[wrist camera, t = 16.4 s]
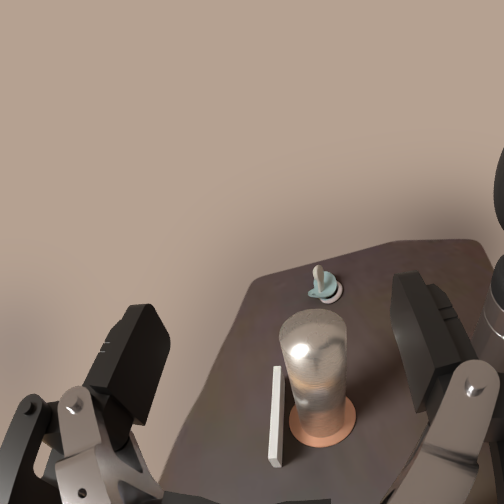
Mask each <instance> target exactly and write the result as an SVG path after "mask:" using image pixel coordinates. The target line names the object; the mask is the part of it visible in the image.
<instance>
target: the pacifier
mask: <svg viewBox="0 0 504 504" xmlns="http://www.w3.org/2000/svg"><path fill="white" fill-rule="evenodd" d="M313 276H314V278H315V279H314V287H315V288H314V289H312V290H310V291H309V292H308V295H309V296H310V297H315V298H319V299H320V300H321V301H322V302H323V303H326V304H330V303H333V302H335V301H336V300H338V299H339V297H340V296H341V294H342V285H341V284H340V283H339V282H338V281H336V279H335V277H334V276H333V275H332V274H331V273H329V272H324V271H323V268H322V266H321V265H317V266H316V267H315V268H314V270H313ZM336 286H337V288H338V292H337V294H336V295H335V296H334V297H332V298H330V299H325V298H326V297H329V296H331V295H332V294H333V293H334V292H335V290H336Z"/></svg>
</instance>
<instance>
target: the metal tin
mask: <svg viewBox="0 0 504 504" xmlns="http://www.w3.org/2000/svg"><path fill="white" fill-rule="evenodd" d="M279 340H280V344H281V348H282V352H283V356H284V360H285V364H286V368H287V372H288V376H289V380H290V384H291V388H292V392H293V396H294V400H295V404H296V408H297V412H298V416H299V420H300V424H301V427H302V429H303V430H304V431H305V432H306V433H307V434H308V435H310V436H313V437H316V438H325V437H329V436H332V435H333V434H335V433H337V432H338V431H339V430H340V429H341V427H342V426H343V424H344V420H345V404H346V361H347V343H346V325H345V323H344V321H343V319H342V318H341V317H340V316H339V315H337V314H336V313H334V312H332V311H329V310H325V309H308V310H304V311H301V312H298V313H296V314H294V315H293V316H291V317H290V318H289V319H287V320H286V321H285V323H284V324H283V325H282V327H281V329H280V333H279Z"/></svg>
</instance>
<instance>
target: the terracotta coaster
mask: <svg viewBox="0 0 504 504" xmlns="http://www.w3.org/2000/svg"><path fill="white" fill-rule="evenodd" d="M355 419H356V413H355V408H354V406H353V404H352V402H351V401H350V400H349V399H348V398H347V397H346V404H345V420H344V424H343V426H342V427H341V429H340V430H339V431H338V432H337V433H335V434H333V435H332V436H329V437H325V438H316V437H313V436H310V435H308V434H307V433H306V432H305V431H304V430H303V429H302V427H301V424H300V420H299V416H298V412H297V408H296V404H295V405H294V406H293V408H292V410H291V412H290V415H289V426H290V429H291V432H292V434H293V435H294V437H295V438H296V439H297V440H298V441H300V442H301V443H303V444H305V445H307V446H311V447H317V448H322V447H328V446H332V445H335V444H337V443H339V442H341V441H342V440H343V439H345V438H346V437H347V436H348V435H349V434H350V432H351V431H352V429H353V427H354V424H355Z"/></svg>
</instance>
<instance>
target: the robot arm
mask: <svg viewBox="0 0 504 504" xmlns="http://www.w3.org/2000/svg"><path fill="white" fill-rule="evenodd" d="M494 207H495V212H496V215H497V218H498V221H499V223H500V225H501V227H502V229H503V230H504V149H503V151H502V153H501V156H500V159H499V162H498V165H497V170H496V175H495V181H494ZM390 317H391V324H392V329H393V332H394V335H395V338H396V342H397V345H398V348H399V352H400V355H401V358H402V362H403V365H404V369H405V373H406V376H407V380H408V384H409V388H410V392H411V396H412V400H413V404H414V408H415V412H416V413H420V412H424V411H427V415H428V419H429V421H428V423H427V425H426V427H425V429H424V431H423V433H422V435H421V437H420V439H419V441H418V442H417V444H416V446H415V448H414V450H413V452H412V453H411V455H410V457H409V459H408V461H407V462H406V464H405V466H404V467H403V469H402V471H401V472H400V474H399V475H398V477H397V478H396V480H395V481H394V483H393V484H392V486H391V487H390V488H389V490H388V491H387V493H386V494H385V496H384V497H383V499H382V500H381V501H380V503H379V504H464V502H465V500H466V498H467V496H468V494H469V492H470V490H471V488H472V486H473V483H474V481H475V479H476V476H477V473H478V469H479V465H478V463H477V457H478V454H479V452H480V449H481V447H482V444H483V442H489V446H490V451H491V456H492V462H493V468H494V475H495V483H496V491H497V501H498V504H504V255H503V256H501V257H500V259H499V260H498V262H497V264H496V266H495V269H494V272H493V276H492V280H491V283H490V287H489V290H488V293H487V297H486V300H485V303H484V306H483V309H482V312H481V315H480V318H479V321H478V323H477V326H476V329H475V331H474V334H473V336H472V339H471V341H470V339H469V337H468V335H467V333H466V331H465V329H464V327H463V325H462V323H461V321H460V319H458V315H457V313H456V311H455V310H454V308H452V304H451V302H450V300H449V298H448V297H447V295H446V293H445V292H443V291H442V290H441V289H440V288H439V287H437V286H436V285H435V284H430V285H426V284H425V283H424V281H423V279H422V277H421V275H420V273H419V272H418V271H417V270H415V271H409V272H403V273H397V274H394V276H393V285H392V297H391V308H390ZM169 351H170V337H169V334H168V332H167V330H166V329H165V327H164V325H163V323H162V321H161V319H160V318H159V316H158V314H157V312H156V310H155V308H154V307H153V306H152V305H151V304H139V305H130V306H129V307H128V309H127V310H126V313H125V314H124V316H123V318H122V320H120V321H119V322H118V323H117V324H116V325H115V326H114V327H113V328H112V329H111V330H110V332H109V334H108V336H107V338H106V339H105V343H103V345H102V347H101V349H100V353H98V355H97V357H96V359H95V361H94V363H93V365H92V367H91V369H90V371H89V373H88V375H87V377H86V379H85V381H84V383H83V385H82V386H76V387H73V388H71V389H69V390H68V391H66V392H65V393H64V395H63V396H62V397H61V399H60V401H56V402H49V403H46V402H45V401H44V400H43V399H42V398H41V397H40V396H39V395H37V394H30V395H28V396H26V397H25V398H24V399H23V400H22V401H21V402H20V404H19V406H18V408H17V410H16V413H15V414H14V417H13V419H12V421H11V424H10V426H9V428H8V431H7V433H6V435H5V438H4V441H3V443H2V446H1V448H0V504H219V503H216V502H213V501H211V500H208V499H205V498H203V497H199V496H192V495H185V494H179V493H174V492H168V491H164V490H163V489H162V488H161V486H160V485H159V484H158V483H157V482H156V481H155V480H154V479H153V477H152V476H151V474H150V472H149V470H148V467H147V465H146V463H145V461H144V458H143V456H142V453H141V451H140V449H139V446H138V444H137V441H136V439H135V436H134V434H133V433H132V431H131V427H132V424H136V425H142V426H145V424H146V421H147V418H148V414H149V411H150V408H151V405H152V402H153V399H154V396H155V393H156V390H157V386H158V383H159V380H160V377H161V374H162V371H163V368H164V365H165V362H166V359H167V356H168V354H169ZM42 441H43V442H44V443H45V444H47V445H48V446H50V447H51V448H52V450H51V453H50V456H49V459H48V462H47V465H46V468H45V471H44V475H43V477H42V478H38V477H37V476H36V475H35V473H34V470H33V465H34V462H35V459H36V456H37V453H38V450H39V447H40V445H41V442H42ZM277 504H331V499H322V500H308V501H286V502H282V503H277Z"/></svg>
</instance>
